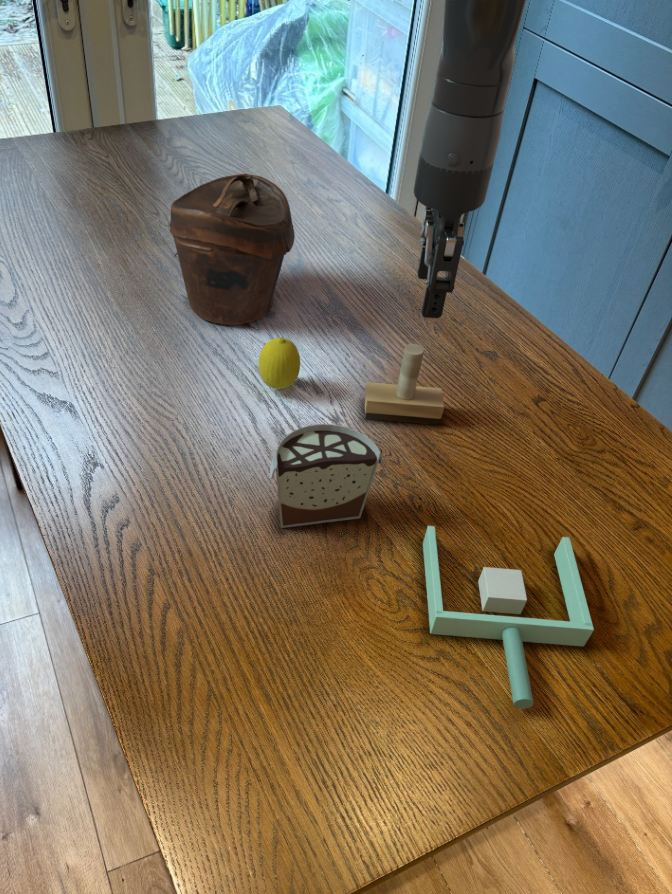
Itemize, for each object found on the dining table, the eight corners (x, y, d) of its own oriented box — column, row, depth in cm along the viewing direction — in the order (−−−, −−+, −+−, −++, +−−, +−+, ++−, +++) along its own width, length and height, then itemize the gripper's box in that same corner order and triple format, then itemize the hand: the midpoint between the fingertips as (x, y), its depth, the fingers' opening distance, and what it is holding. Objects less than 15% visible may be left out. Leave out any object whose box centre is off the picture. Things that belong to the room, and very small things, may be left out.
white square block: (477, 581, 81) (483, 566, 79) (514, 584, 81) (521, 569, 79) (482, 611, 78) (488, 597, 76) (520, 614, 78) (527, 600, 76)
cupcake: (357, 479, 91) (369, 415, 83) (372, 516, 87) (385, 452, 79) (257, 491, 88) (260, 426, 81) (268, 529, 84) (271, 464, 77)
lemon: (285, 406, 100) (289, 356, 94) (250, 391, 101) (251, 341, 95) (305, 385, 103) (310, 335, 97) (270, 371, 105) (273, 321, 99)
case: (267, 264, 125) (271, 153, 112) (306, 330, 112) (316, 213, 99) (161, 276, 121) (153, 162, 108) (189, 346, 108) (183, 226, 95)
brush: (363, 401, 101) (374, 336, 94) (437, 407, 101) (453, 343, 94) (363, 419, 99) (374, 354, 91) (439, 426, 99) (456, 361, 91)
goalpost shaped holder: (422, 543, 84) (427, 525, 82) (560, 554, 84) (569, 537, 82) (436, 705, 70) (442, 688, 68) (601, 718, 70) (613, 703, 68)
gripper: (504, 185, 71) (466, 333, 83) (486, 129, 81) (454, 268, 92) (425, 179, 71) (398, 328, 83) (416, 124, 81) (394, 264, 92)
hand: (428, 296), depth 87 cm, fingers open, 8 cm apart
